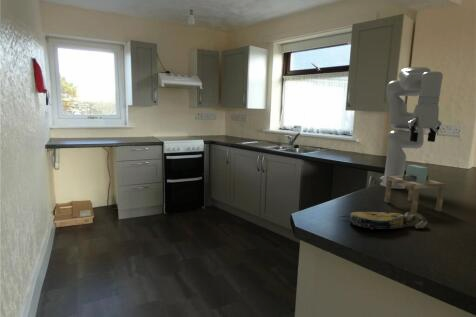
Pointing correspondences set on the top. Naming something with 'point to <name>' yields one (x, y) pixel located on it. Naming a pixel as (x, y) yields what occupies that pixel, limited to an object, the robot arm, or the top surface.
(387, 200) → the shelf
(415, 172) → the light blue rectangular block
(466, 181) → the top surface
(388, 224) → the pulley block
